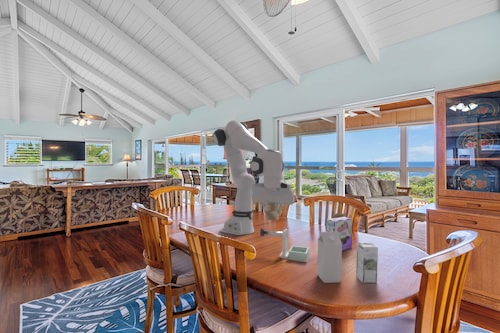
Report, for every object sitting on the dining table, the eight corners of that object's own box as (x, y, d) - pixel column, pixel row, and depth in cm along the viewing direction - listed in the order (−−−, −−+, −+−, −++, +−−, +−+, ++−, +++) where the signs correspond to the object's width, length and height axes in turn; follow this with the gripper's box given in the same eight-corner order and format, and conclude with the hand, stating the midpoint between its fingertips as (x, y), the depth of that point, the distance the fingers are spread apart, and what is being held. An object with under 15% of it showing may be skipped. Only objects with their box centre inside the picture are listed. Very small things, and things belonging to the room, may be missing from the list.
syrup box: (369, 276, 104) (370, 241, 104) (377, 283, 98) (378, 246, 98) (356, 276, 104) (356, 241, 104) (362, 283, 98) (363, 246, 98)
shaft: (260, 237, 129) (260, 229, 129) (262, 234, 133) (262, 227, 133) (286, 240, 124) (286, 231, 124) (287, 237, 128) (287, 229, 128)
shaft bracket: (278, 258, 123) (279, 231, 123) (282, 252, 132) (283, 227, 131) (306, 262, 119) (307, 234, 119) (309, 255, 127) (309, 230, 127)
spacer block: (266, 220, 119) (266, 203, 119) (268, 217, 124) (269, 201, 124) (276, 220, 118) (276, 203, 117) (279, 218, 122) (279, 202, 122)
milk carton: (317, 275, 106) (317, 229, 105) (334, 274, 106) (334, 229, 106) (323, 283, 98) (324, 234, 98) (341, 282, 99) (342, 234, 99)
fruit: (329, 238, 155) (329, 213, 155) (330, 233, 166) (331, 210, 165) (349, 240, 151) (349, 215, 151) (349, 235, 161) (349, 211, 161)
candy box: (333, 252, 131) (333, 221, 131) (325, 249, 136) (325, 218, 136) (352, 248, 137) (352, 218, 137) (343, 245, 143) (344, 216, 142)
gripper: (250, 183, 121) (249, 212, 121) (293, 185, 114) (292, 215, 114) (254, 182, 127) (254, 209, 127) (295, 183, 120) (295, 213, 120)
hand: (272, 212), depth 121 cm, fingers closed on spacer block, 5 cm apart
